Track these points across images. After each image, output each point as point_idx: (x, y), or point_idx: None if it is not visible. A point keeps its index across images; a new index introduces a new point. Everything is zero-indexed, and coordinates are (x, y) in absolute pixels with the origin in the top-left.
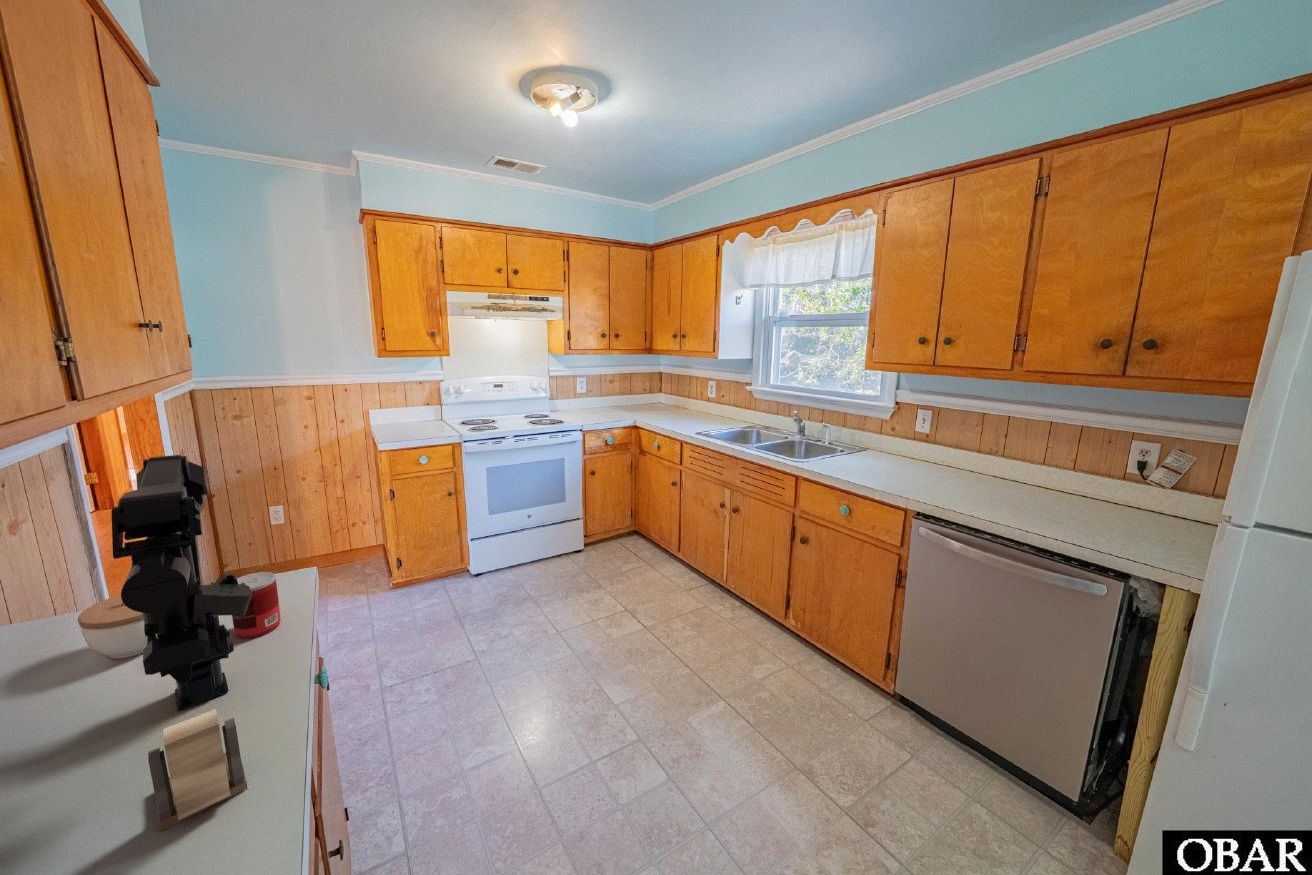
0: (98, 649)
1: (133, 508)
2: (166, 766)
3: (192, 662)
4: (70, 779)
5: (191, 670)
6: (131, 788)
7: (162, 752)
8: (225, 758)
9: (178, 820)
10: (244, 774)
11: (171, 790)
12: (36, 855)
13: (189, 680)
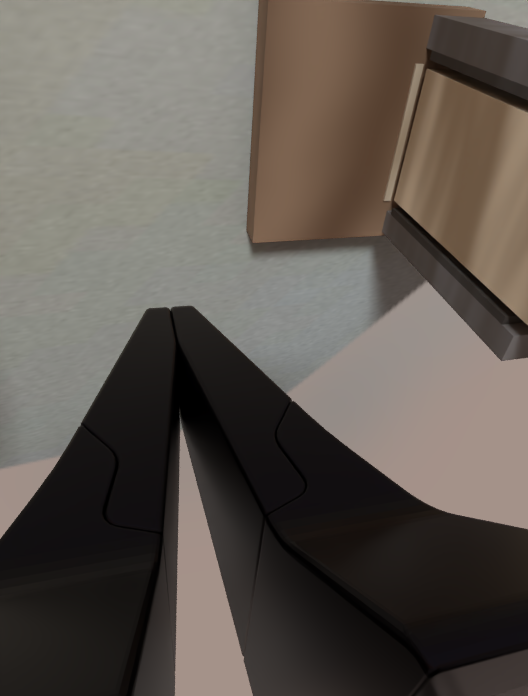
0: None
1: None
2: (475, 278)
3: (284, 394)
4: (36, 392)
5: (231, 345)
6: (184, 282)
7: (517, 318)
8: (300, 54)
9: None
10: (445, 9)
11: (323, 209)
12: None
13: (193, 307)
